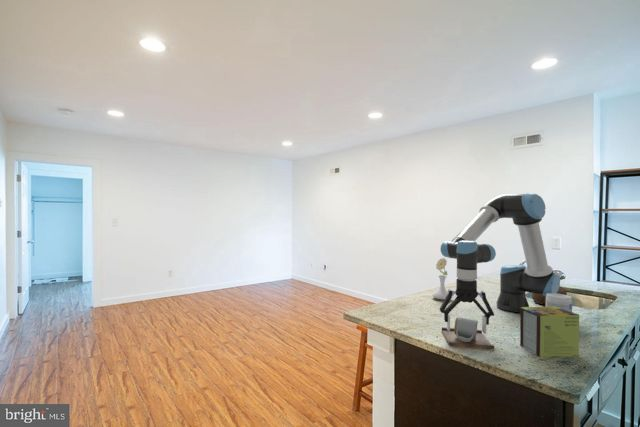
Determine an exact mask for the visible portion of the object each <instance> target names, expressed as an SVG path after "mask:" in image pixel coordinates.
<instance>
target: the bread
mask: <svg viewBox="0 0 640 427" xmlns="http://www.w3.org/2000/svg"><path fill="white" fill-rule="evenodd" d="M557 294H564V295H568V293H567V290H566V289H565V288H564V287H562V286H559V289H558V291H557ZM531 298H532V300H533V301H534V302H535V303H537V304H540V305H543V306H546V296H543V295H540V294H535V293H531Z"/></svg>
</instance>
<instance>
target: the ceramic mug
mask: <svg viewBox="0 0 640 427" xmlns="http://www.w3.org/2000/svg"><path fill="white" fill-rule="evenodd" d="M478 324H479V323H478V320H476V319H470V318H465V317H456V318H455V319H454V327H453V328H454V333H455V335H456V336H457V338H458V339H459V340H460V341H463V342H470V341H471V340H474V341H476V335H477V330H478ZM461 337H464V338H461ZM465 338H467V339H465Z"/></svg>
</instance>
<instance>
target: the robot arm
mask: <svg viewBox="0 0 640 427" xmlns="http://www.w3.org/2000/svg"><path fill="white" fill-rule="evenodd" d="M545 214H546V205H545V201H544V199H543V198H542V197H541V195H539V194H537V193H527V192H526V193H516V194H502V195H498V196H496V197H494V198H492V199H490V200H488V201H487V202H485V204H483V205H482V206H481V207H480V209H479V212H478V213H477V214H476V216H475V217H473V219H472V220H470V221H469V223H468V224H467V225H465V227H463V229H462V230H461V231H460V232H459V233H458V234H457V235H456V236H455V237H453V239H452V240H451V241H450V240H447V241H443V242H442V243H441V245H440V253H441V255H442V256H443V257H444V258H448V259H456V278H457V279H456V282H455V283H456V285H455V290H454V289H453V290H452V289H448V290H447V291H448V295H447V296H446V298H445V300H443V302H442V304H441V305H440V308H439V312H441V313H443V316H444V317H443V318H444V322H445V323H446V328H447V330H448V331H450V328H451V314H450V313H451V312H452V311H453V310H454V309H455V308H456V307H457V306H458V304H460V303H461V302H462V303H469V304H470V303H472V302H473V303H474V304H475V305H476V306H477V307H478V309H479V310H480V311H481V312H482V314H483V315H481V319H482V322H481V330H482V333H483V335H486V334H487V326H489V325H490V317H493V316H495V313H494V311H493V309H492V306H491V304H490V303H489V301H488V299H487V294H486V292H484V291H483V290H481V291H477V290H478V286H477V285H478V281H477V280H478V264H481V263H488V262H492V261H494V260H495V258H496V255H497V252H496V250H495V247H494V246H493V245H491V244H488V243H486V244H485V243H482V244H478V243H477V242H476V241H477V240H478V239H479V238H480V236H482V235H483V234H484V232H485V231H486V230H487V229H488V228H489V227H490V226H491V224H493V223H497V221H499V220H500V219H505V218H506V219H507V218H508V219H512V222H513V224H514V225H515V226H516V227H517V229H518V232H519V237H520V241H521V244H522V248H523V253H524V254H523V255H524V259H525V262H526V266H525V265H523V264H522V265H520V264H519V265H514V264H513V265H512V264H511V265H504V266H501V268H500V274H499V275H500V276H499V277H500V279H499V280H500V282H499V284H500V285H499V286H500V290H499V291H500V293H499V295H498V297H497V300H496V307H497V308H498V309H501V310H504V311H508V312H514V313H520V308H521V307H530V304H529V302H528V298H527V296H526V293H530V294H532V293H535V294H540V295H543V296H546V294H547V293H557V291H558V289H559V286H560V285H561V276H560V275H559V274H558V273H554V270H553V268H552V266H550V265H548V259H547V255H546V250H545V245H544V241H543V236H542V231H541V227H540V222H541V221H542V220H543V218H544V217H545ZM454 295H456V297H455V298H454V299H453V301H451V299H452V298H453V296H454ZM478 296H479V297H480V298H481V299H482V301H483V304H484V306H485V308H486V309H484V307H483V306H482V304H481V303H479V301H478V300H477V299H476V298H477V297H478ZM451 297H452V298H451ZM450 301H451V303H450ZM486 310H487V311H486Z"/></svg>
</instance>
